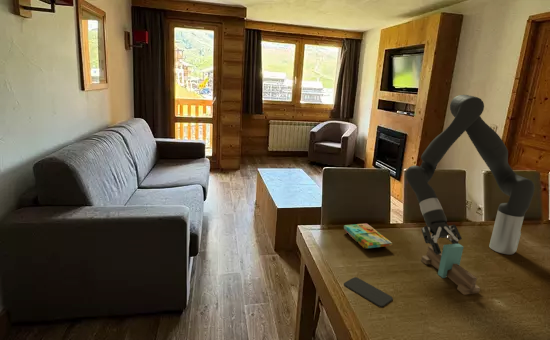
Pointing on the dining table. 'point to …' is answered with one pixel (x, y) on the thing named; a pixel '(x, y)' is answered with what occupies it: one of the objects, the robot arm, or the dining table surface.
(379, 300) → the phone
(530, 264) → the dining table surface
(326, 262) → the dining table surface
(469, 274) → the slotted rail
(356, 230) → the puzzle game
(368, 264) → the dining table surface
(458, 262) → the slotted tab
